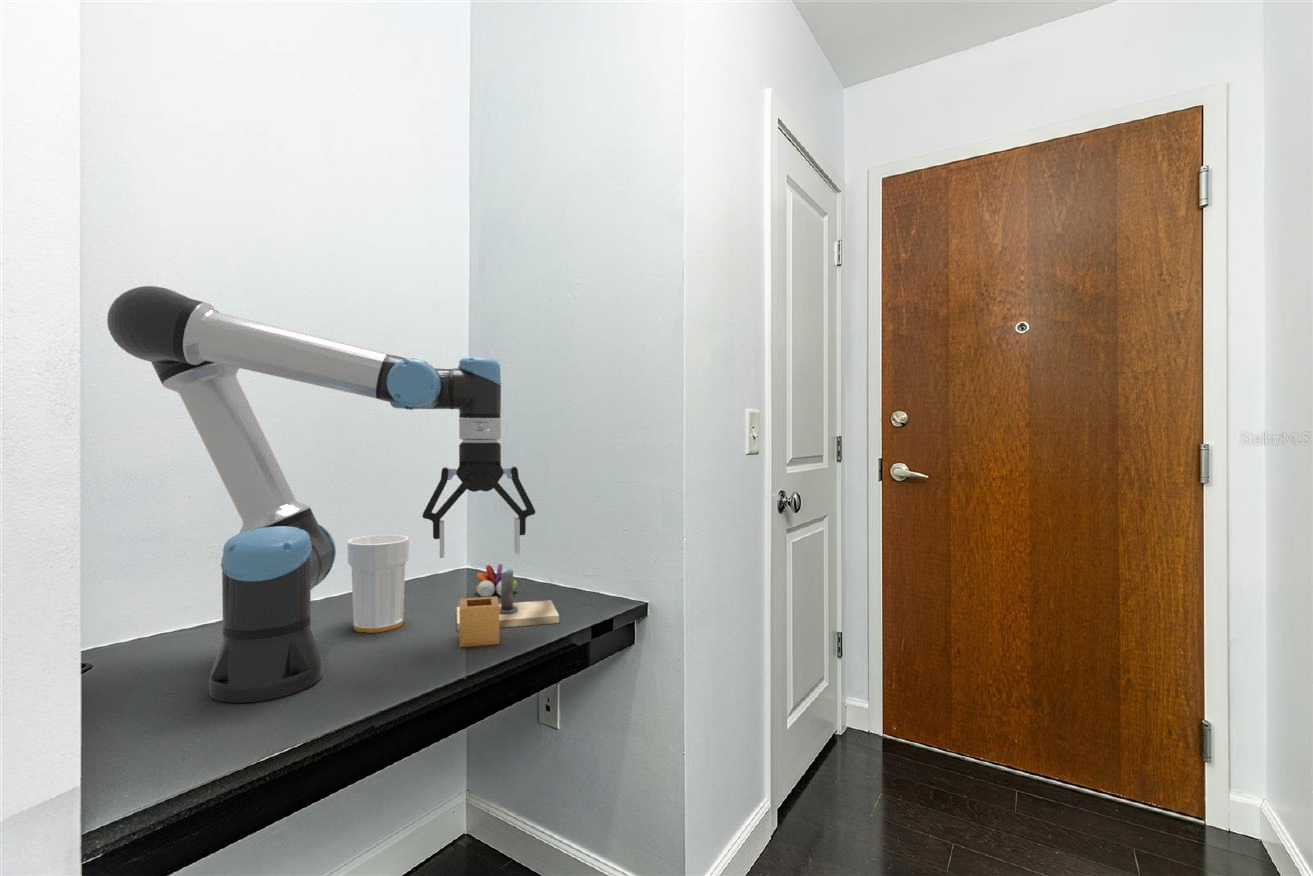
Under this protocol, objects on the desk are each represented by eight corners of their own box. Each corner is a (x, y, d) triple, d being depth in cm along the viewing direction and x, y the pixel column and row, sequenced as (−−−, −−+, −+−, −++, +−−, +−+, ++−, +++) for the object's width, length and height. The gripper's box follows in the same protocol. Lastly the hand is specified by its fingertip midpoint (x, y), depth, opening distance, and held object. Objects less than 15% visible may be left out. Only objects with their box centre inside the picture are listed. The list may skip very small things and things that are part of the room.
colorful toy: (477, 590, 156) (477, 560, 156) (517, 589, 158) (517, 559, 158) (473, 599, 148) (473, 568, 148) (516, 598, 150) (516, 567, 150)
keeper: (456, 631, 125) (457, 583, 125) (456, 614, 136) (457, 569, 136) (559, 622, 131) (559, 576, 130) (551, 606, 142) (551, 564, 142)
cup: (416, 627, 127) (417, 540, 127) (356, 638, 120) (356, 546, 120) (398, 614, 136) (398, 532, 136) (340, 624, 129) (340, 538, 128)
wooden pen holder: (459, 647, 116) (459, 609, 116) (459, 635, 122) (459, 599, 122) (499, 643, 118) (499, 606, 118) (497, 632, 125) (497, 596, 124)
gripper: (407, 442, 112) (407, 562, 113) (549, 441, 120) (549, 554, 120) (410, 441, 119) (410, 554, 120) (544, 440, 127) (544, 547, 127)
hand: (480, 554), depth 120 cm, fingers open, 13 cm apart
